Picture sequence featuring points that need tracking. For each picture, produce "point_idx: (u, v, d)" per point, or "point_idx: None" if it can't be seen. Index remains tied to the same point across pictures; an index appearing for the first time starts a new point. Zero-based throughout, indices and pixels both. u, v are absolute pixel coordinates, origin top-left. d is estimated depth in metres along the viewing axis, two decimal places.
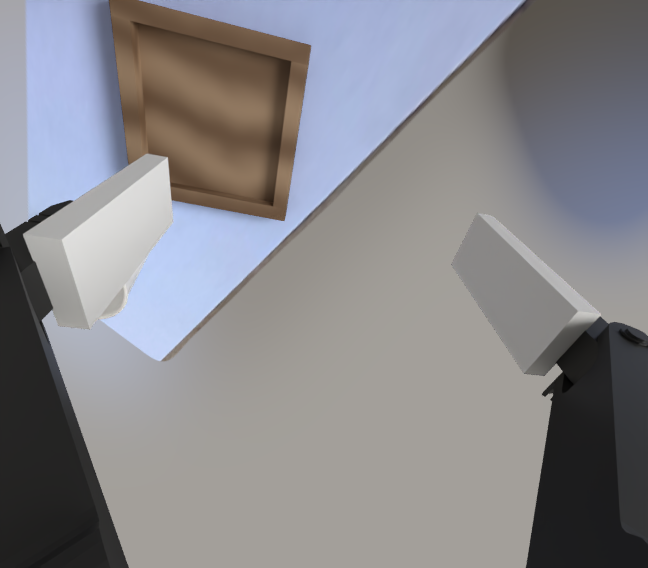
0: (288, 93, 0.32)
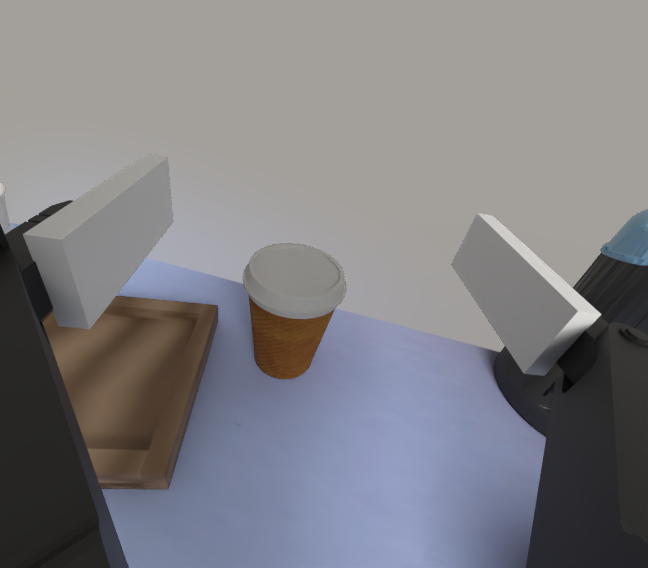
0: (107, 450, 0.23)
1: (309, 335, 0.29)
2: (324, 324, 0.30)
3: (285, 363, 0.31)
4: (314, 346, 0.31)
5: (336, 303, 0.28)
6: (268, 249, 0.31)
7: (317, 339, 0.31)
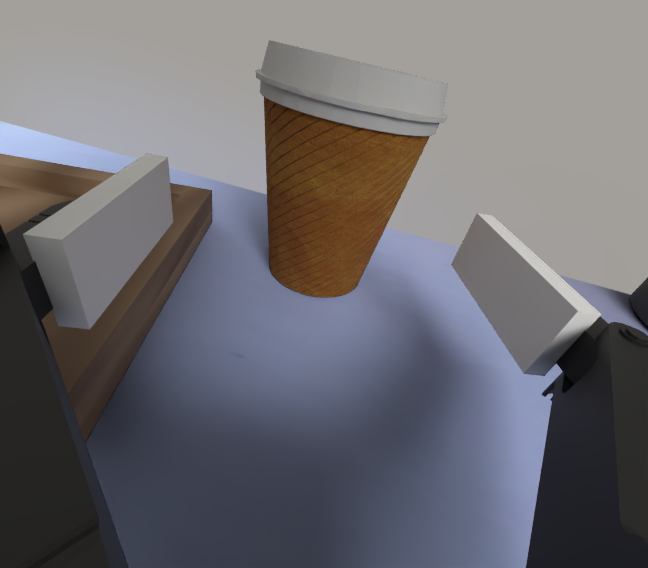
0: None
1: (377, 192, 0.15)
2: (404, 176, 0.16)
3: (324, 259, 0.18)
4: (377, 231, 0.18)
5: (438, 116, 0.14)
6: None
7: (385, 214, 0.17)
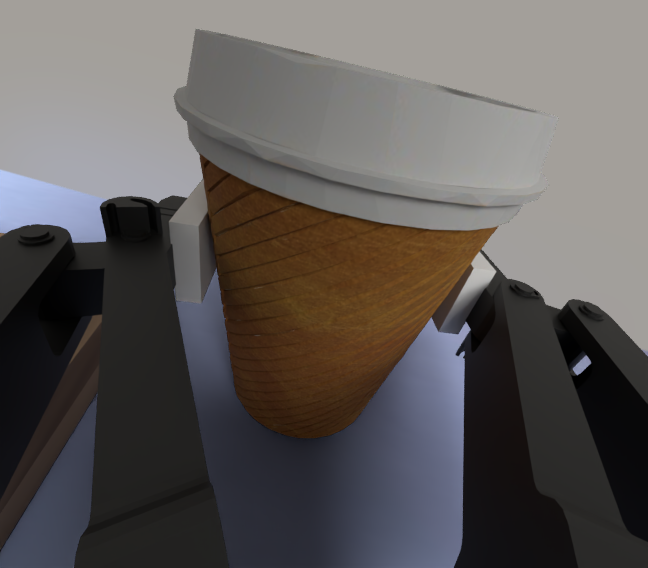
0: None
1: (411, 315, 0.08)
2: (457, 279, 0.09)
3: (316, 401, 0.11)
4: (403, 353, 0.11)
5: (541, 184, 0.07)
6: (274, 50, 0.10)
7: (419, 331, 0.10)
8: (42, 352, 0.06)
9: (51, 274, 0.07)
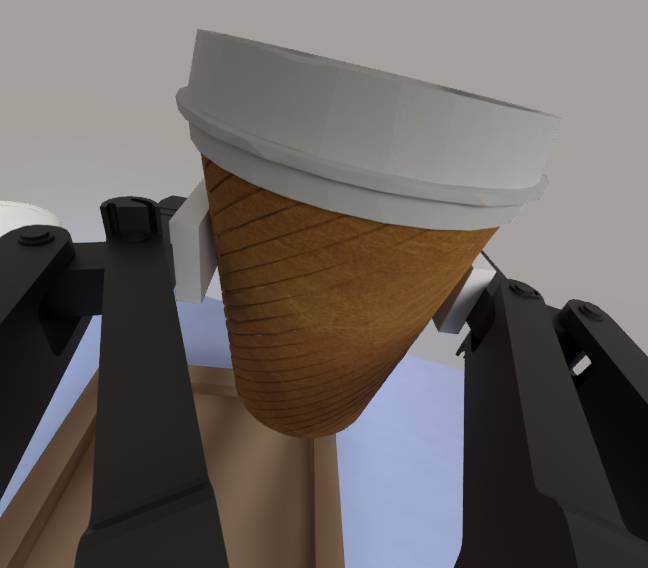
0: None
1: (412, 315, 0.08)
2: (459, 279, 0.09)
3: (317, 401, 0.11)
4: (404, 353, 0.11)
5: (542, 184, 0.07)
6: None
7: (420, 331, 0.10)
8: (42, 352, 0.06)
9: (51, 274, 0.07)
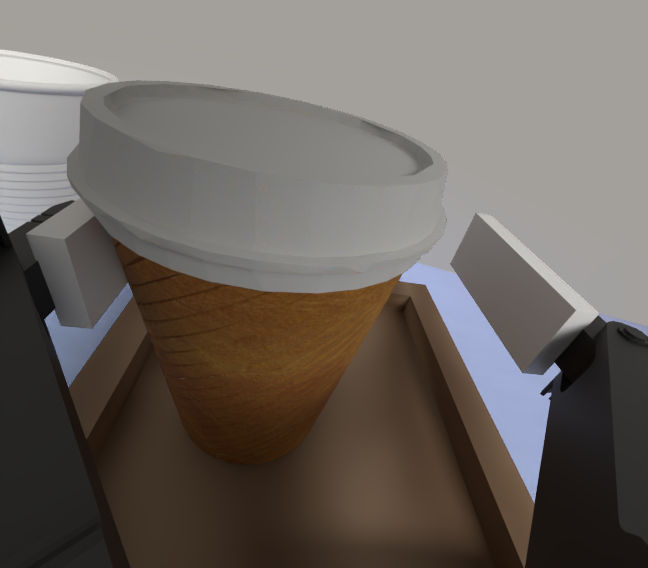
0: None
1: (326, 356, 0.09)
2: (374, 317, 0.09)
3: (251, 434, 0.11)
4: (335, 382, 0.11)
5: (433, 235, 0.07)
6: (192, 90, 0.10)
7: (346, 363, 0.10)
8: None
9: None
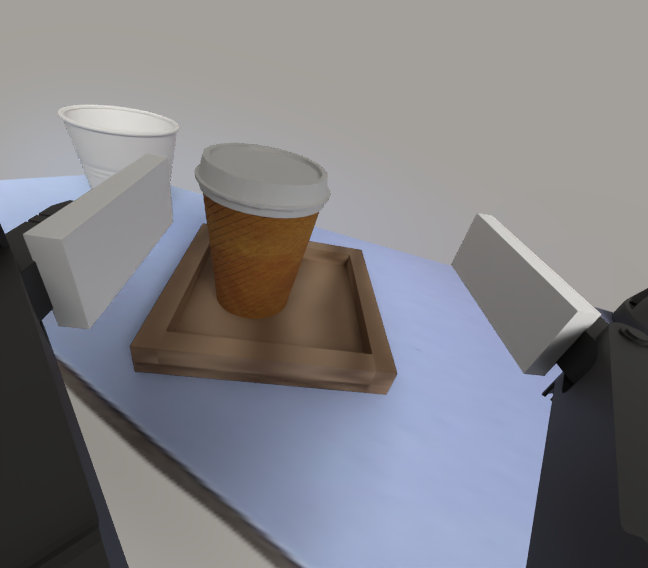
0: (337, 351, 0.24)
1: (285, 250, 0.23)
2: (304, 237, 0.23)
3: (255, 293, 0.25)
4: (291, 271, 0.25)
5: (319, 202, 0.22)
6: (228, 146, 0.24)
7: (295, 260, 0.24)
8: None
9: None
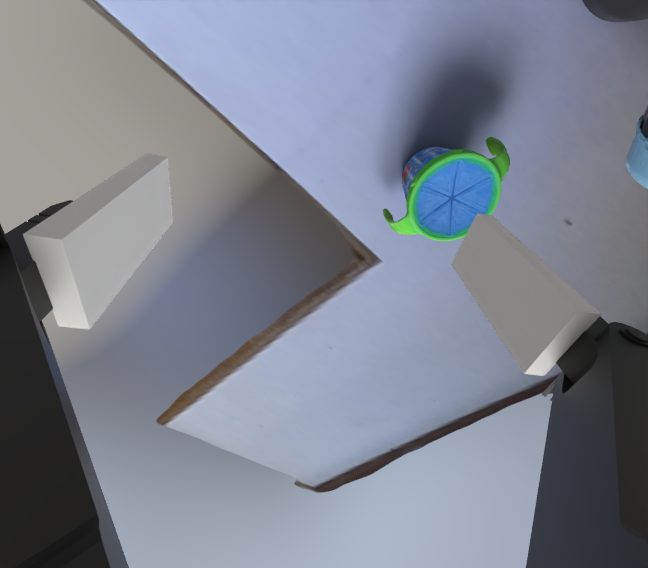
0: None
1: None
2: None
3: None
4: None
5: None
6: None
7: None
8: None
9: None
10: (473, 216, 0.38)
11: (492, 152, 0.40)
